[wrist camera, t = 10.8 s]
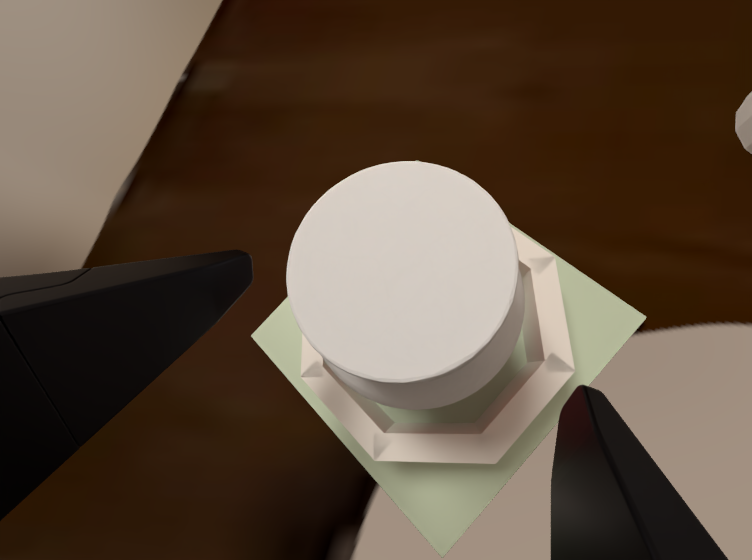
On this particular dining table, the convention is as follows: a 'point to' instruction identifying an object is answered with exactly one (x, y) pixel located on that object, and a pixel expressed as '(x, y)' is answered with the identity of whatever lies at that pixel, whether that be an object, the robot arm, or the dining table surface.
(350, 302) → the pill bottle
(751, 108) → the shot glass
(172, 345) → the robot arm
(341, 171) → the dining table surface
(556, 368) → the octagonal tray
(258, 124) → the dining table surface
